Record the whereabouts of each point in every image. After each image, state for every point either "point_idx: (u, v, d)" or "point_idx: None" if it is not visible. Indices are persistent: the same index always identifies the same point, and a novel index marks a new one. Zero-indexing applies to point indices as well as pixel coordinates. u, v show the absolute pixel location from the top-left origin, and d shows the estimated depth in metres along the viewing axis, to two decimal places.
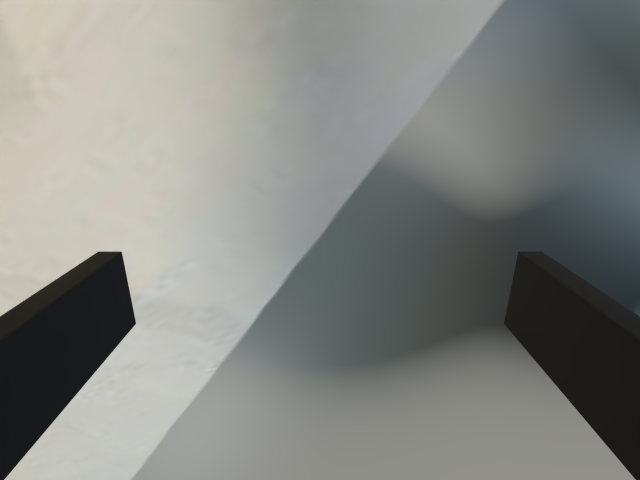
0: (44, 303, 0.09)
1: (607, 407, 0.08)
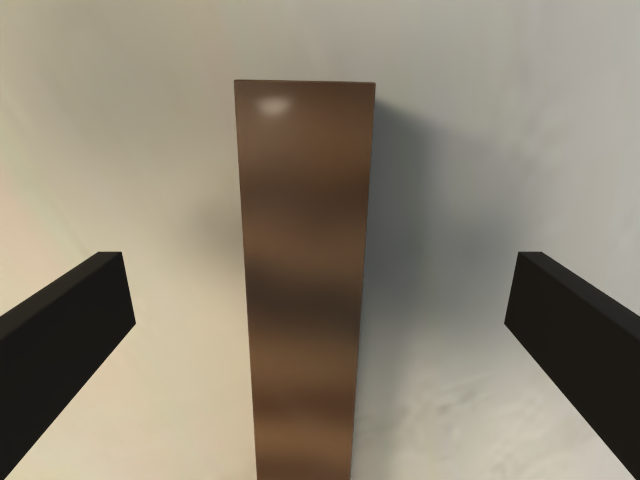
0: (44, 303, 0.09)
1: (607, 407, 0.08)
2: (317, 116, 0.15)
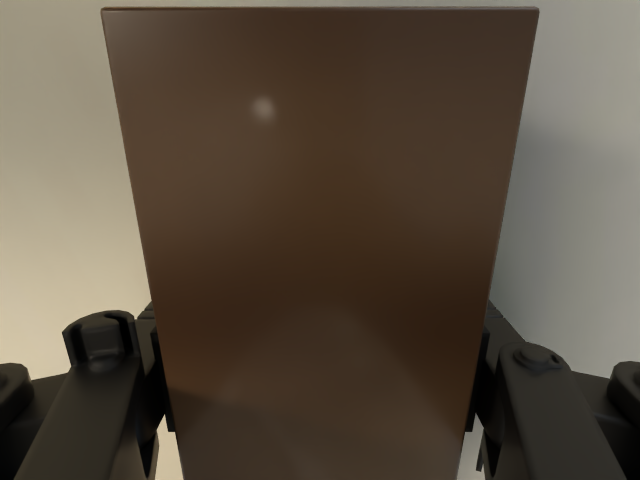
0: None
1: None
2: (358, 115, 0.05)
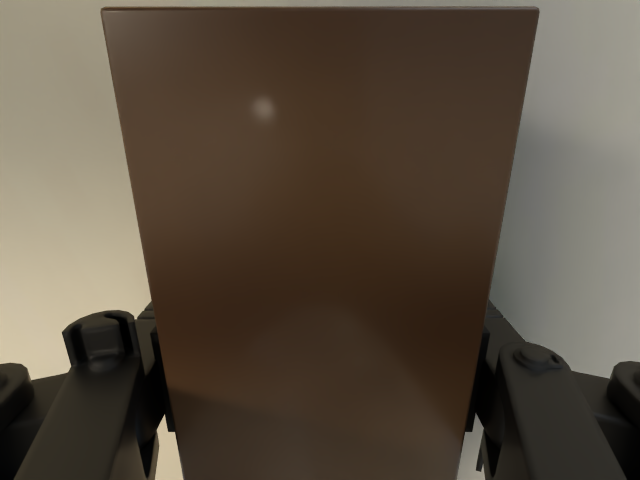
0: None
1: None
2: (358, 115, 0.05)
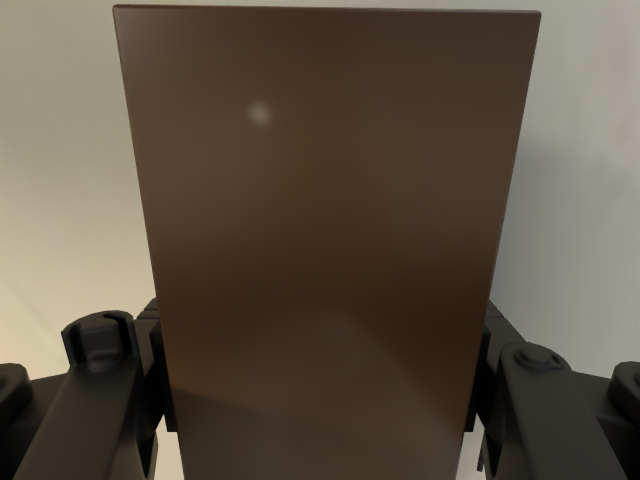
0: None
1: None
2: (364, 114, 0.05)
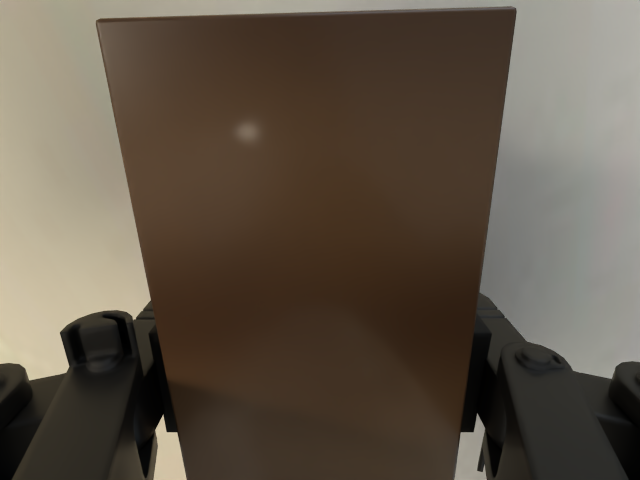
0: None
1: None
2: (345, 115, 0.05)
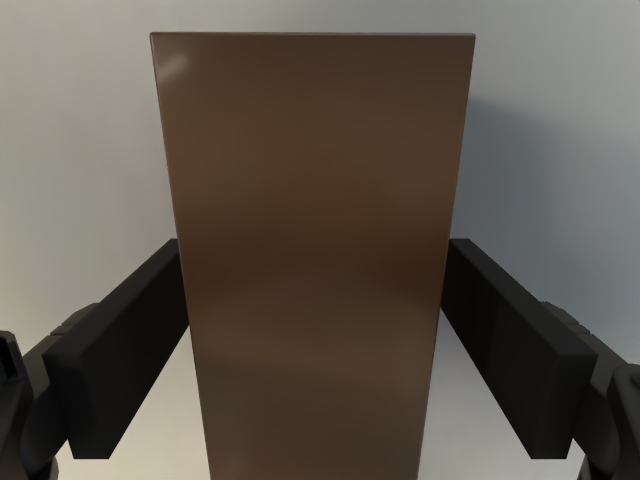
0: (145, 280, 0.10)
1: (497, 369, 0.09)
2: (342, 113, 0.07)
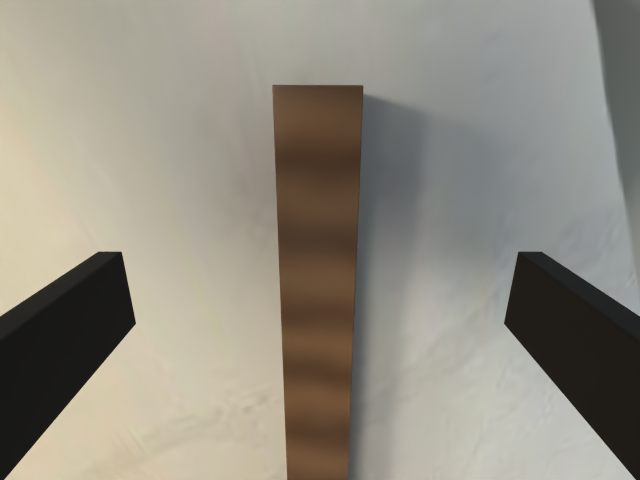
0: (44, 303, 0.09)
1: (607, 407, 0.08)
2: (326, 107, 0.23)
